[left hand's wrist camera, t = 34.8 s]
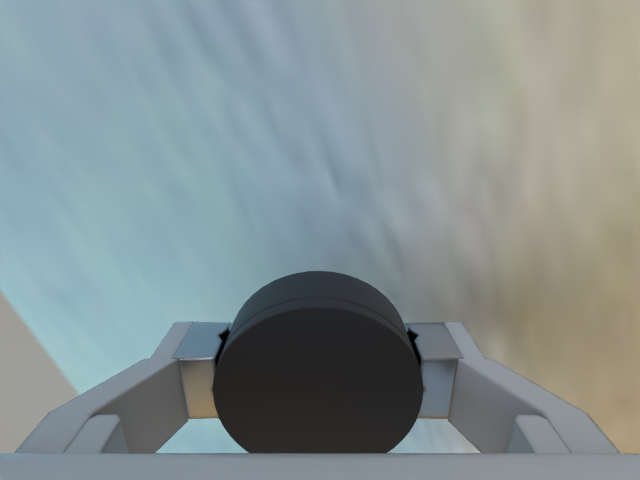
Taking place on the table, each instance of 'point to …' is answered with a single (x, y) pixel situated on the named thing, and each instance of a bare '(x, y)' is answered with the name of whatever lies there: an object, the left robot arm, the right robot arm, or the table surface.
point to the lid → (318, 369)
